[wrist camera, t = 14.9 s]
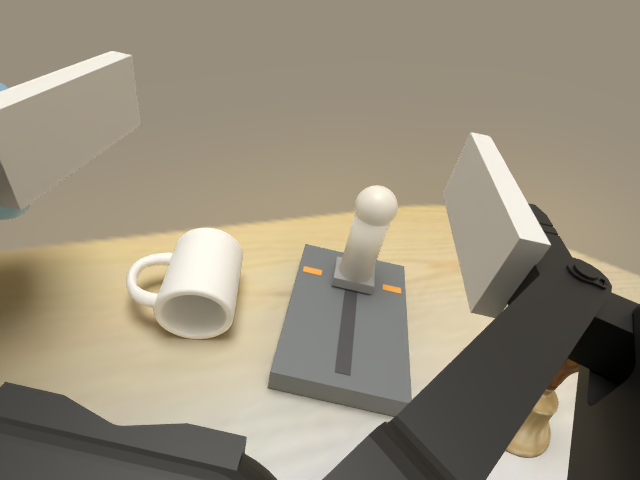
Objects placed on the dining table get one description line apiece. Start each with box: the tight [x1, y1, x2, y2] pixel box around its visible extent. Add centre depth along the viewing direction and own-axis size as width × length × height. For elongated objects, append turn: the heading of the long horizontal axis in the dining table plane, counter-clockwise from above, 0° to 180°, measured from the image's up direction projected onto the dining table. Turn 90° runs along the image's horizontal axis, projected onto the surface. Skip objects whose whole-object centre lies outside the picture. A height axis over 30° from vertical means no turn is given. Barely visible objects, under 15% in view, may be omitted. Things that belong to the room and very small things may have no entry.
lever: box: [332, 186, 398, 294], centre depth 43 cm, size 5×5×14 cm
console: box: [268, 244, 412, 417], centre depth 45 cm, size 14×20×3 cm
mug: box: [126, 228, 243, 339], centre depth 42 cm, size 12×10×8 cm
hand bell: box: [506, 359, 579, 457], centre depth 35 cm, size 8×8×16 cm
